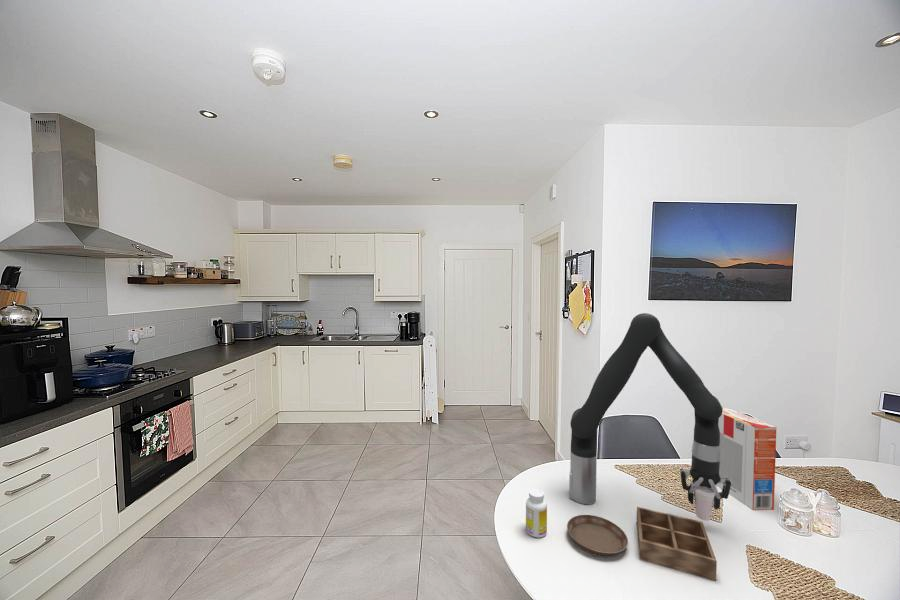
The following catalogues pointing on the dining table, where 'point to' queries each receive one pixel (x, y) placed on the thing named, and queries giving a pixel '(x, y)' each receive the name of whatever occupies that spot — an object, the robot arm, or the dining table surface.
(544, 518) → the supplement bottle
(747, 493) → the white and orange box
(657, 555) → the bottle caddy
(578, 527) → the plant saucer
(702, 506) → the smoothie
